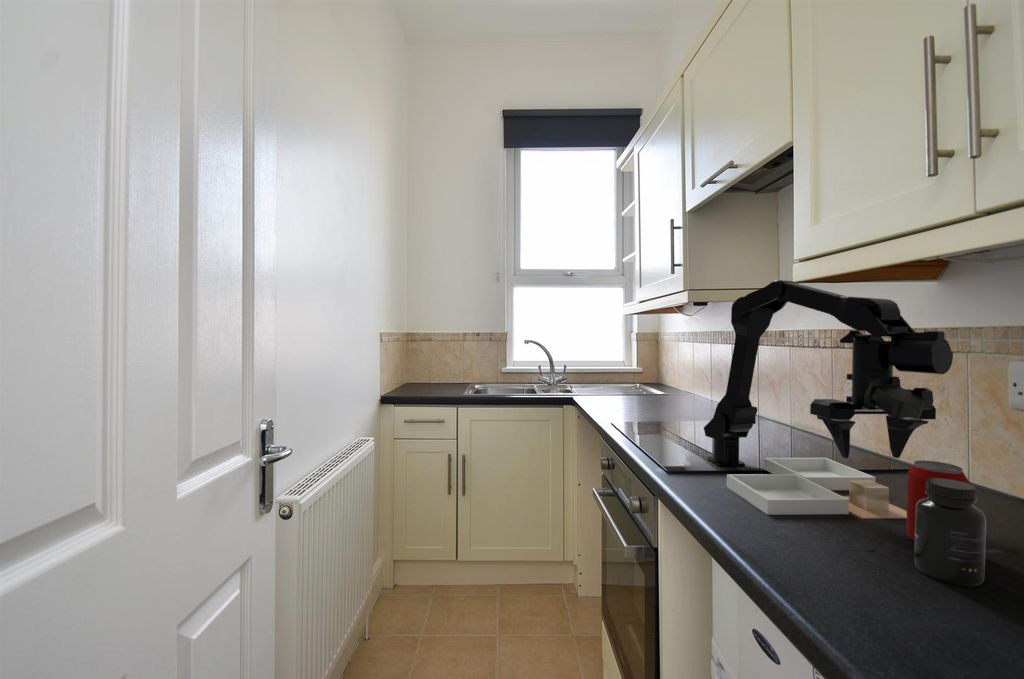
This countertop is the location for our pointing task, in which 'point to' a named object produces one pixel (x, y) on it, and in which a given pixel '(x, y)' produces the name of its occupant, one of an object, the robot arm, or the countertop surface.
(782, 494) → the tray
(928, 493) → the supplement bottle
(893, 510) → the tile
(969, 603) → the countertop surface
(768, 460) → the tray
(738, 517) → the countertop surface
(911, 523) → the beverage can
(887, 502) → the beech cube
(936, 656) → the countertop surface
